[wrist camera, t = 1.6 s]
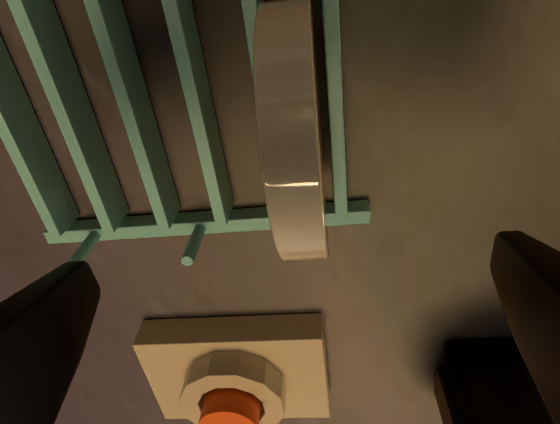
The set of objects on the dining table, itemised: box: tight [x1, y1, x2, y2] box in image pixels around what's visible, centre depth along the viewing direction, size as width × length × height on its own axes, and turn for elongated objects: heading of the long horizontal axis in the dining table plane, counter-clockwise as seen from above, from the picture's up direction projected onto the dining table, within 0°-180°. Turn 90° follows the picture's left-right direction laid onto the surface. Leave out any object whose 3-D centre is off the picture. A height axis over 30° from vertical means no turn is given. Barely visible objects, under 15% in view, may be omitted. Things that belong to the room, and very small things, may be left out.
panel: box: [133, 313, 330, 424], centre depth 28 cm, size 12×8×4 cm, turn 97°
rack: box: [0, 0, 371, 266], centre depth 18 cm, size 18×13×4 cm
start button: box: [198, 388, 261, 424], centre depth 26 cm, size 4×4×2 cm
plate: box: [253, 0, 329, 262], centre depth 15 cm, size 2×9×10 cm, turn 7°
